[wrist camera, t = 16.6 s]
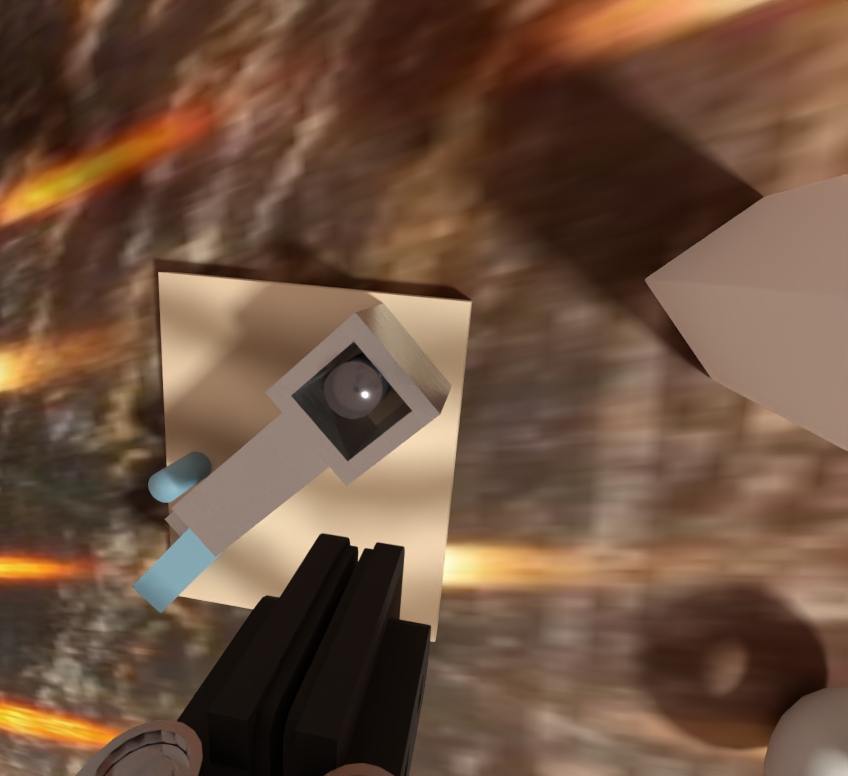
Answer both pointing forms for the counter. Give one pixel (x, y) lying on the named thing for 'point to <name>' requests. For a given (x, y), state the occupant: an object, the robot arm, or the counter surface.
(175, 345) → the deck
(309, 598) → the robot arm
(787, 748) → the donut
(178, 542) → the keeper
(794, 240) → the milk
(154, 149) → the counter surface
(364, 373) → the pintle
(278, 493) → the link
